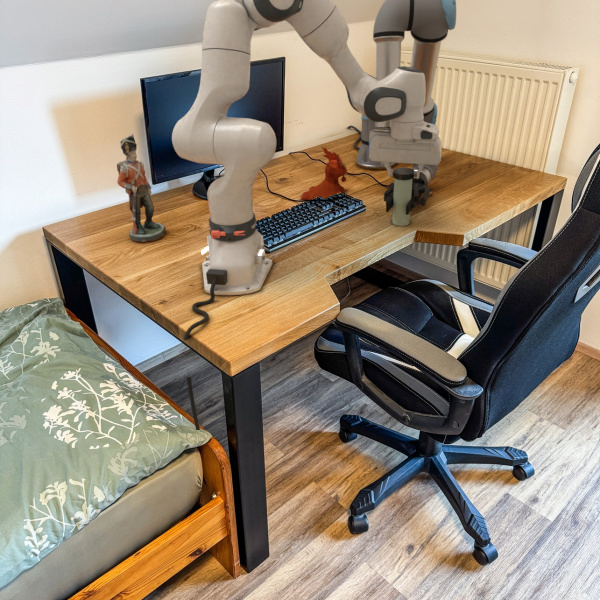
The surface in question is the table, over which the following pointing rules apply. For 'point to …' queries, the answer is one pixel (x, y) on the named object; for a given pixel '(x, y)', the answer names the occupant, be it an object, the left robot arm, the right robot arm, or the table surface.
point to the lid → (403, 173)
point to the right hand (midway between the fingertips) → (397, 209)
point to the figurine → (138, 193)
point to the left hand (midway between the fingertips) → (403, 177)
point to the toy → (329, 178)
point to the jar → (401, 201)
